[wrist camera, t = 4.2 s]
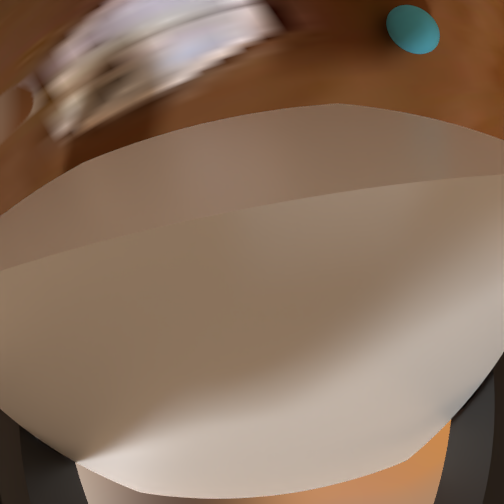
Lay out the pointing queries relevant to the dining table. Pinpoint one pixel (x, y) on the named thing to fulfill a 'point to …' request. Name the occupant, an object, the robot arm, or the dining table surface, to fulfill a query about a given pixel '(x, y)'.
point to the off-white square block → (256, 299)
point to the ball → (412, 29)
